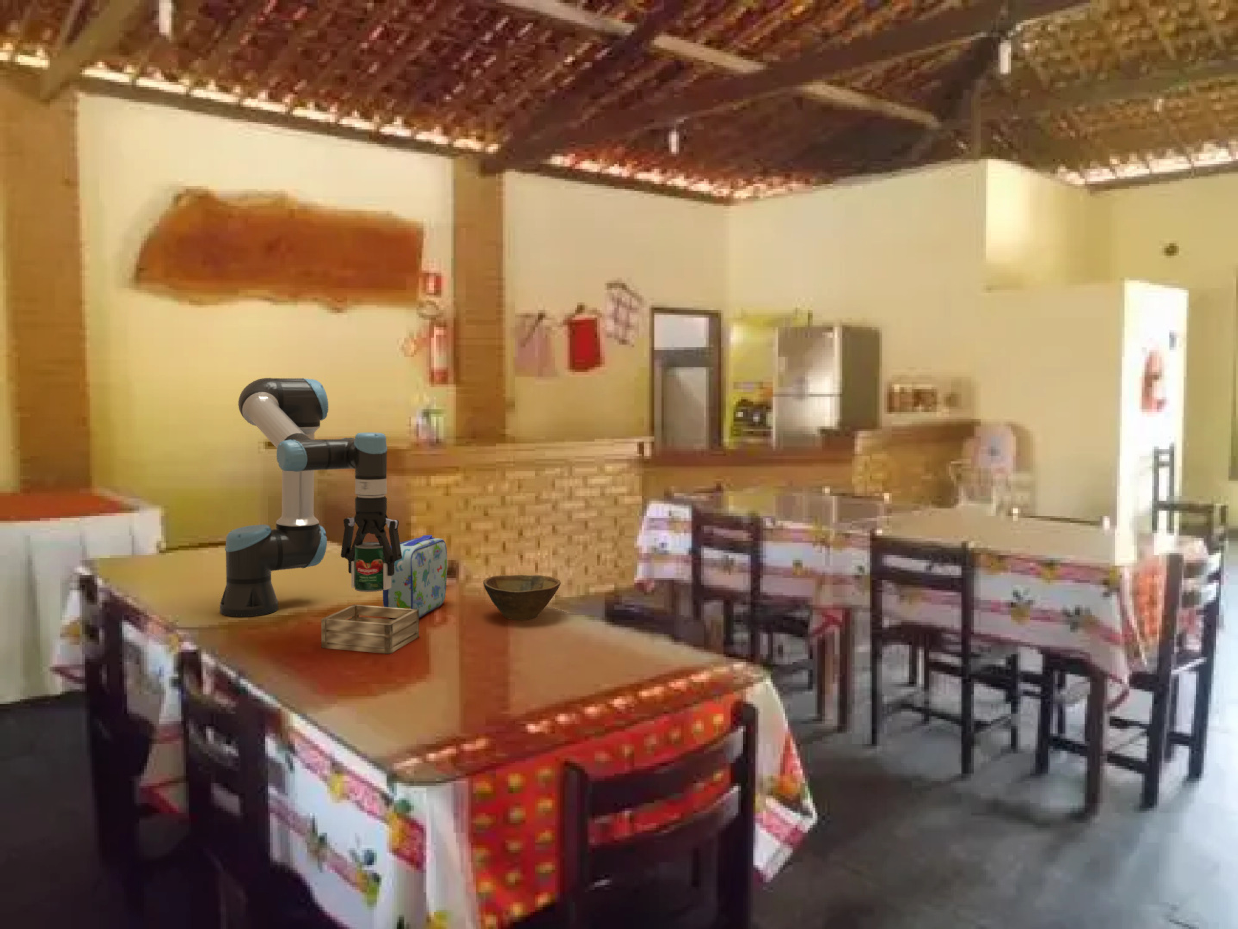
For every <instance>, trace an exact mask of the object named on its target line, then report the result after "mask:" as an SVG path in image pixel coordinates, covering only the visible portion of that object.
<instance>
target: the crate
mask: <svg viewBox="0 0 1238 929" xmlns="http://www.w3.org/2000/svg"><path fill="white" fill-rule="evenodd" d="M390 618H392V619H390ZM320 622H321V623H320V626H321V627H320V629H321V630H320V631H321V632H320V634H321V648H322V649H323V648H324V649H329V650H331V649H333V650H341V651H343V650H344V651H354V652H367V653H376V654H385V655H386V654H387V655H388V654H389V655H391V654H392V653H394V652H396V651H397V650H399V649H401V648H403V647H404V646H407V644H409V643H411V642H412V641H414V640H416V639H417V638H419V637H420V636H419V635H420V618H419V610H417V609H404V608H392V607H384V606H377V605H366V604H365V605H363V604H352V605H350V606H347V607H346V608H343V609H341V610H339V611H337V612H334V613H331V614H330V615H328V616H326V617H323V618H321V619H320Z"/></svg>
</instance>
